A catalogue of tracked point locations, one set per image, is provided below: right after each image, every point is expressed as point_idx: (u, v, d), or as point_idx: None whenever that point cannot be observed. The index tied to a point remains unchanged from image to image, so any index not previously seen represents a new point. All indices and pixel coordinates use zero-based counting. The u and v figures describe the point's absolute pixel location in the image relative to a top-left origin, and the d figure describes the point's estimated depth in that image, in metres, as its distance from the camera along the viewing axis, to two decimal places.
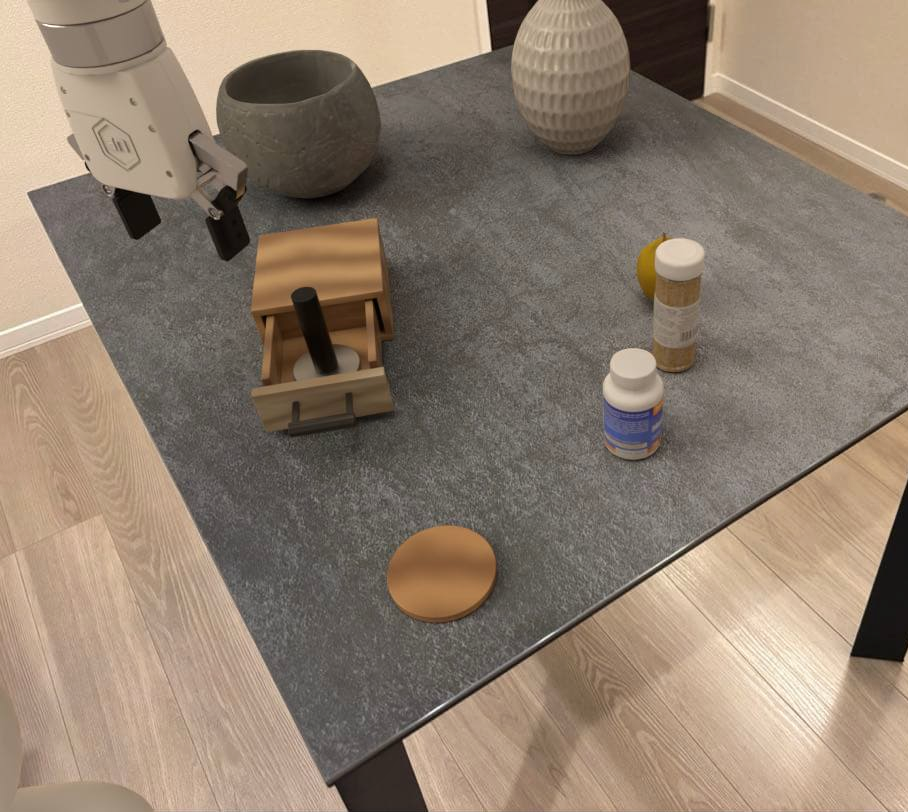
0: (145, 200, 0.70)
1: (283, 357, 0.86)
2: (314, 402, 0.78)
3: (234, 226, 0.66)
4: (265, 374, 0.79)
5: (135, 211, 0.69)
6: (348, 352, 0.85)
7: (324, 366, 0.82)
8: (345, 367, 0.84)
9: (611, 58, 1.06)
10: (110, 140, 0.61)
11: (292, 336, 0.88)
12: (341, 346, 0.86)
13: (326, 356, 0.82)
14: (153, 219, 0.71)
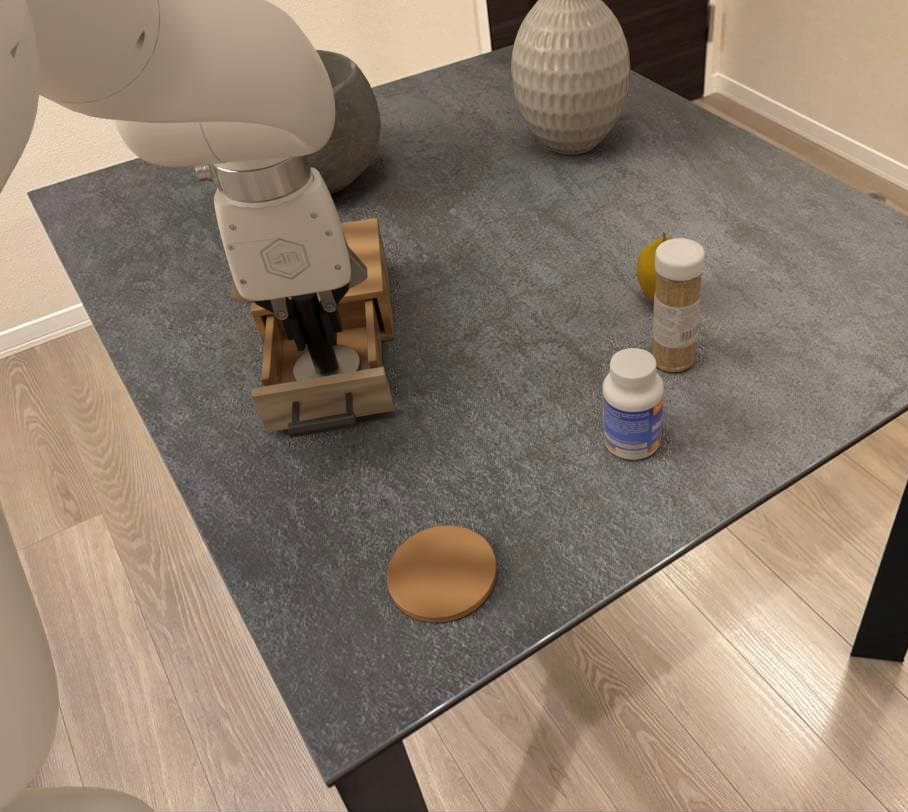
0: None
1: (283, 357, 0.86)
2: (314, 402, 0.78)
3: (337, 314, 0.80)
4: (265, 374, 0.79)
5: (299, 326, 0.79)
6: (348, 352, 0.85)
7: (324, 366, 0.82)
8: (345, 367, 0.84)
9: (611, 58, 1.06)
10: (278, 256, 0.71)
11: None
12: (341, 346, 0.86)
13: (326, 356, 0.82)
14: None
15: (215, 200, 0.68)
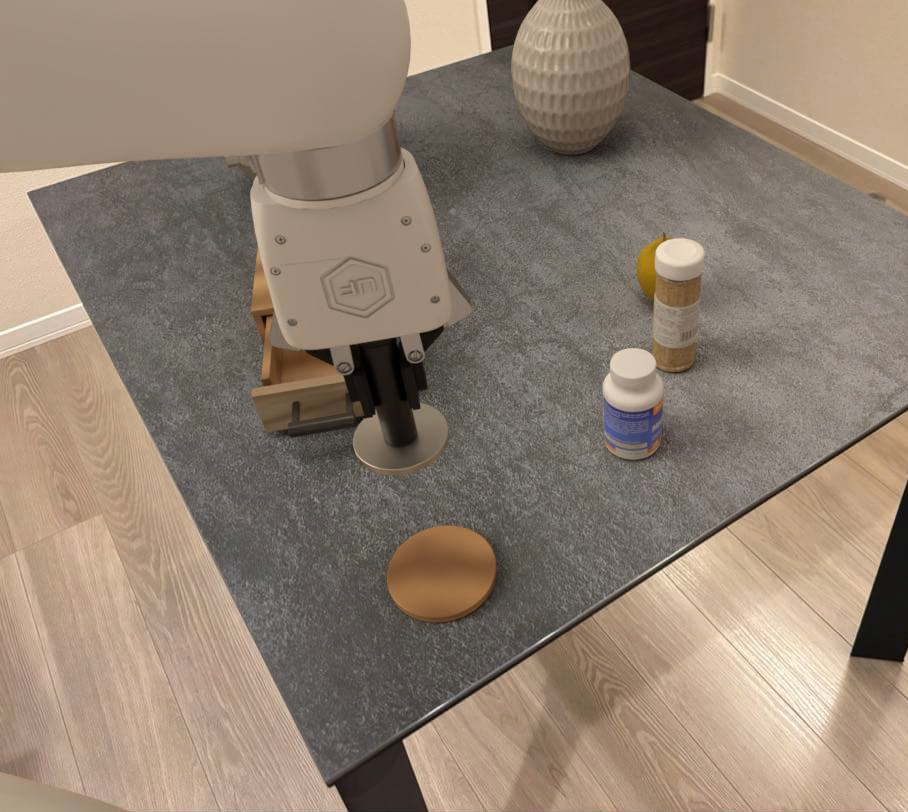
0: None
1: (283, 357, 0.86)
2: (314, 402, 0.78)
3: None
4: (265, 374, 0.79)
5: (368, 382, 0.54)
6: (430, 413, 0.60)
7: (399, 437, 0.57)
8: (428, 437, 0.58)
9: (611, 58, 1.06)
10: (348, 284, 0.46)
11: None
12: None
13: (404, 423, 0.57)
14: None
15: (253, 197, 0.43)
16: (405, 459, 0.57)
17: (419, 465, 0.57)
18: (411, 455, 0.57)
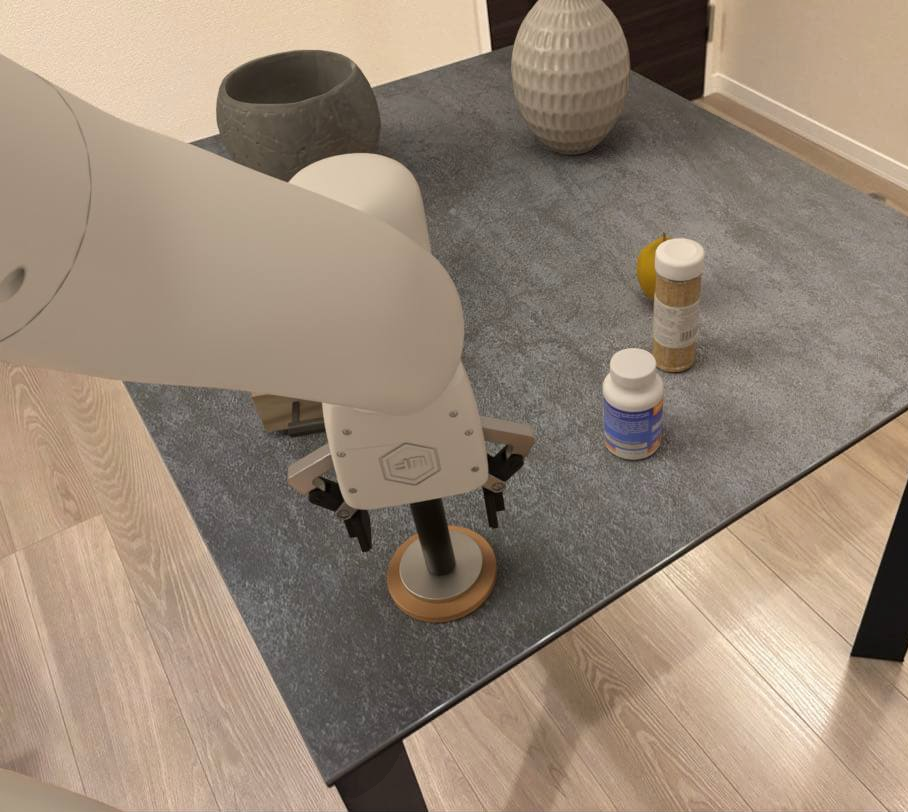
0: None
1: None
2: (314, 402, 0.78)
3: None
4: None
5: (365, 522, 0.61)
6: (466, 542, 0.69)
7: (441, 568, 0.66)
8: (465, 566, 0.67)
9: (611, 58, 1.06)
10: (401, 462, 0.54)
11: None
12: (456, 533, 0.69)
13: (445, 558, 0.65)
14: (369, 521, 0.63)
15: None
16: (445, 588, 0.66)
17: (458, 595, 0.65)
18: (451, 585, 0.66)
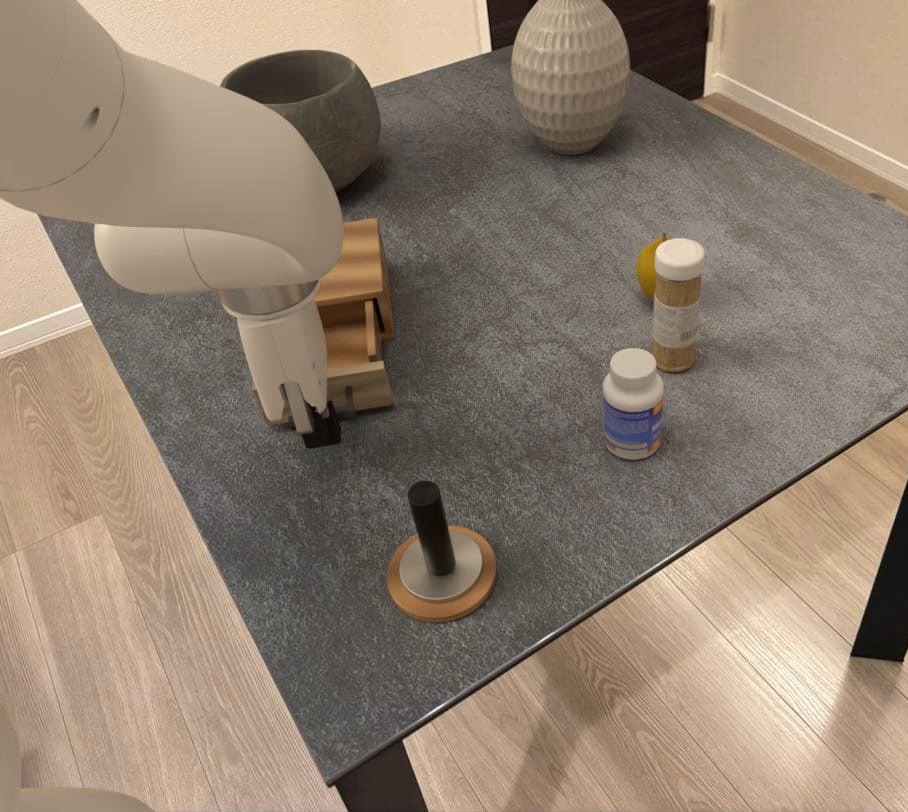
0: None
1: None
2: None
3: (316, 431, 0.73)
4: None
5: None
6: (466, 542, 0.69)
7: (441, 568, 0.66)
8: (465, 566, 0.67)
9: (611, 58, 1.06)
10: None
11: None
12: (456, 533, 0.69)
13: (445, 558, 0.65)
14: None
15: None
16: (445, 588, 0.66)
17: (458, 595, 0.65)
18: (451, 585, 0.66)
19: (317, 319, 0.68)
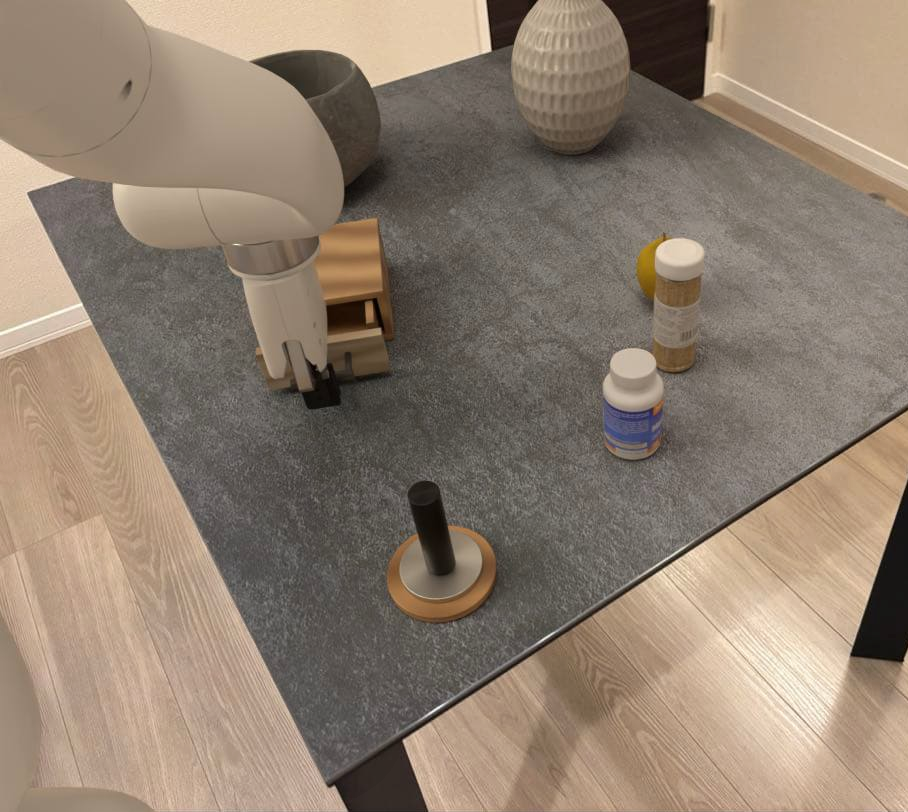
0: None
1: None
2: None
3: (317, 391, 0.76)
4: None
5: None
6: (466, 542, 0.69)
7: (441, 568, 0.66)
8: (465, 566, 0.67)
9: (611, 58, 1.06)
10: None
11: None
12: (456, 533, 0.69)
13: (445, 558, 0.65)
14: None
15: None
16: (445, 588, 0.66)
17: (458, 595, 0.65)
18: (451, 585, 0.66)
19: (318, 283, 0.71)
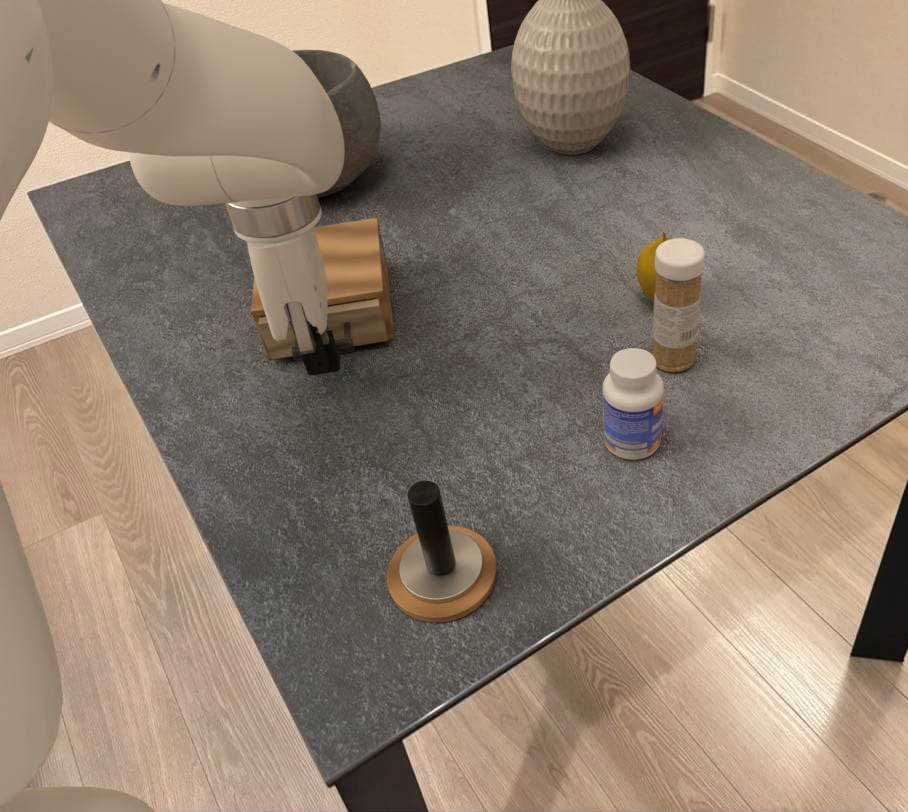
0: None
1: None
2: None
3: (317, 357, 0.80)
4: None
5: None
6: (466, 542, 0.69)
7: (441, 568, 0.66)
8: (465, 566, 0.67)
9: (611, 58, 1.06)
10: None
11: None
12: (456, 533, 0.69)
13: (445, 558, 0.65)
14: None
15: None
16: (445, 588, 0.66)
17: (458, 595, 0.65)
18: (451, 585, 0.66)
19: (318, 250, 0.75)
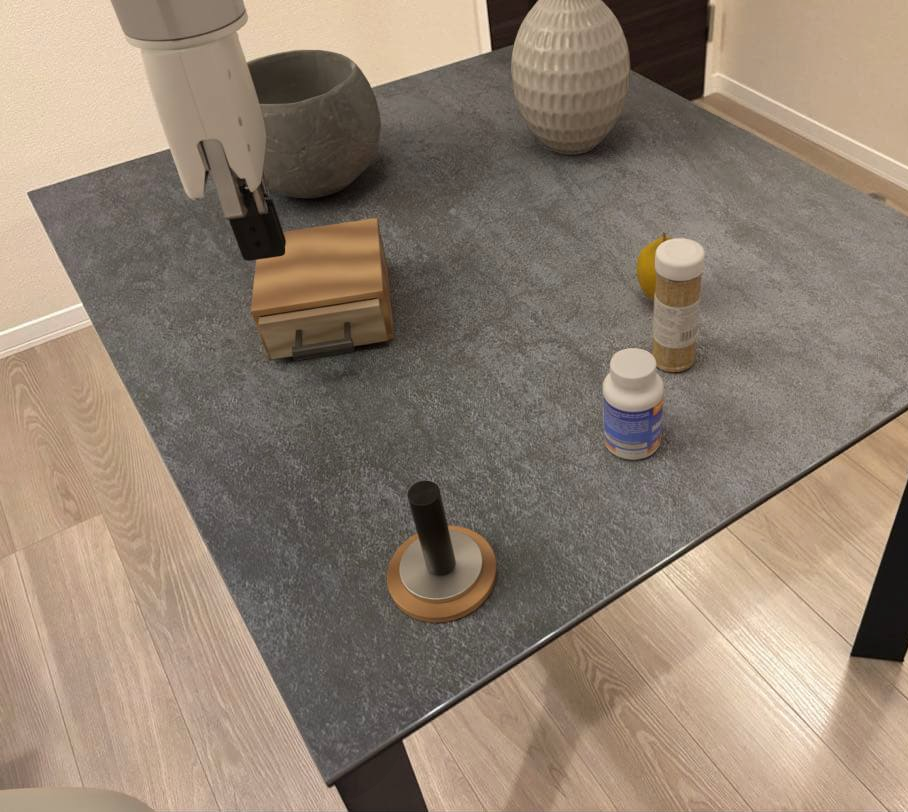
0: None
1: None
2: (315, 330, 0.86)
3: (253, 233, 0.61)
4: None
5: None
6: (466, 542, 0.69)
7: (441, 568, 0.66)
8: (465, 566, 0.67)
9: (611, 58, 1.06)
10: None
11: None
12: (456, 533, 0.69)
13: (445, 558, 0.65)
14: None
15: None
16: (445, 588, 0.66)
17: (458, 595, 0.65)
18: (451, 585, 0.66)
19: (248, 80, 0.56)
